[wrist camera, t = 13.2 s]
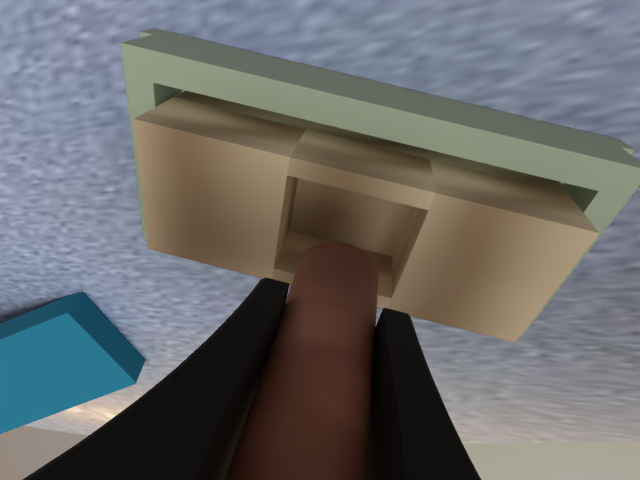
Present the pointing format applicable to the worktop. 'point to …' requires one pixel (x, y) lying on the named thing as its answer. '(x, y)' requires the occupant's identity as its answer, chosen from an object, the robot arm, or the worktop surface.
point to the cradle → (382, 117)
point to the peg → (316, 375)
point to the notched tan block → (356, 211)
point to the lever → (61, 360)
